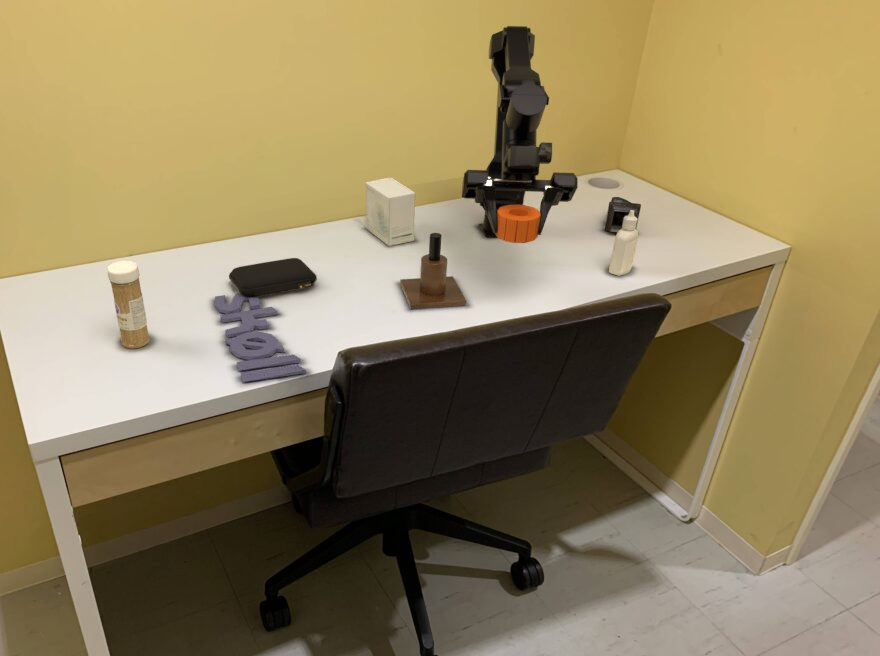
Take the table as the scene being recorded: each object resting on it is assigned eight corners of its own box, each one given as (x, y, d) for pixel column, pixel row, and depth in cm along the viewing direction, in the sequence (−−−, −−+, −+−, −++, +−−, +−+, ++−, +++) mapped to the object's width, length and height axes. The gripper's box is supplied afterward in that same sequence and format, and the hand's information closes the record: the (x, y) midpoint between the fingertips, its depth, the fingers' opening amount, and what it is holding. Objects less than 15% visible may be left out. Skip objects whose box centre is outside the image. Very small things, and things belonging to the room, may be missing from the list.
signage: (211, 296, 135) (266, 288, 138) (211, 299, 135) (267, 292, 138) (239, 380, 113) (305, 369, 115) (240, 384, 113) (305, 373, 116)
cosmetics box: (364, 229, 163) (364, 180, 157) (390, 223, 166) (392, 176, 160) (387, 246, 155) (388, 197, 150) (415, 241, 158) (417, 192, 152)
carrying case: (244, 305, 133) (322, 290, 139) (243, 289, 132) (322, 275, 137) (226, 281, 141) (301, 268, 147) (225, 266, 140) (300, 253, 145)
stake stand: (399, 284, 141) (401, 225, 135) (452, 280, 143) (456, 222, 136) (410, 309, 133) (413, 248, 127) (466, 305, 134) (471, 244, 128)
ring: (486, 231, 130) (489, 209, 128) (518, 223, 133) (520, 201, 131) (514, 246, 125) (517, 223, 123) (545, 237, 128) (549, 214, 126)
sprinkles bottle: (115, 343, 123) (100, 266, 115) (139, 332, 126) (125, 257, 118) (132, 352, 121) (118, 275, 113) (156, 341, 123) (143, 265, 116)
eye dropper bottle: (639, 273, 146) (652, 213, 139) (614, 277, 144) (626, 216, 138) (625, 264, 149) (638, 205, 143) (600, 268, 148) (612, 208, 141)
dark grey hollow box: (630, 215, 171) (635, 187, 167) (636, 238, 160) (643, 208, 156) (600, 213, 172) (605, 185, 168) (605, 236, 161) (610, 206, 157)
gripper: (468, 120, 123) (465, 211, 120) (585, 124, 122) (585, 215, 119) (463, 154, 134) (460, 238, 131) (570, 157, 133) (570, 242, 130)
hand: (517, 233), depth 128 cm, fingers closed on ring, 7 cm apart
